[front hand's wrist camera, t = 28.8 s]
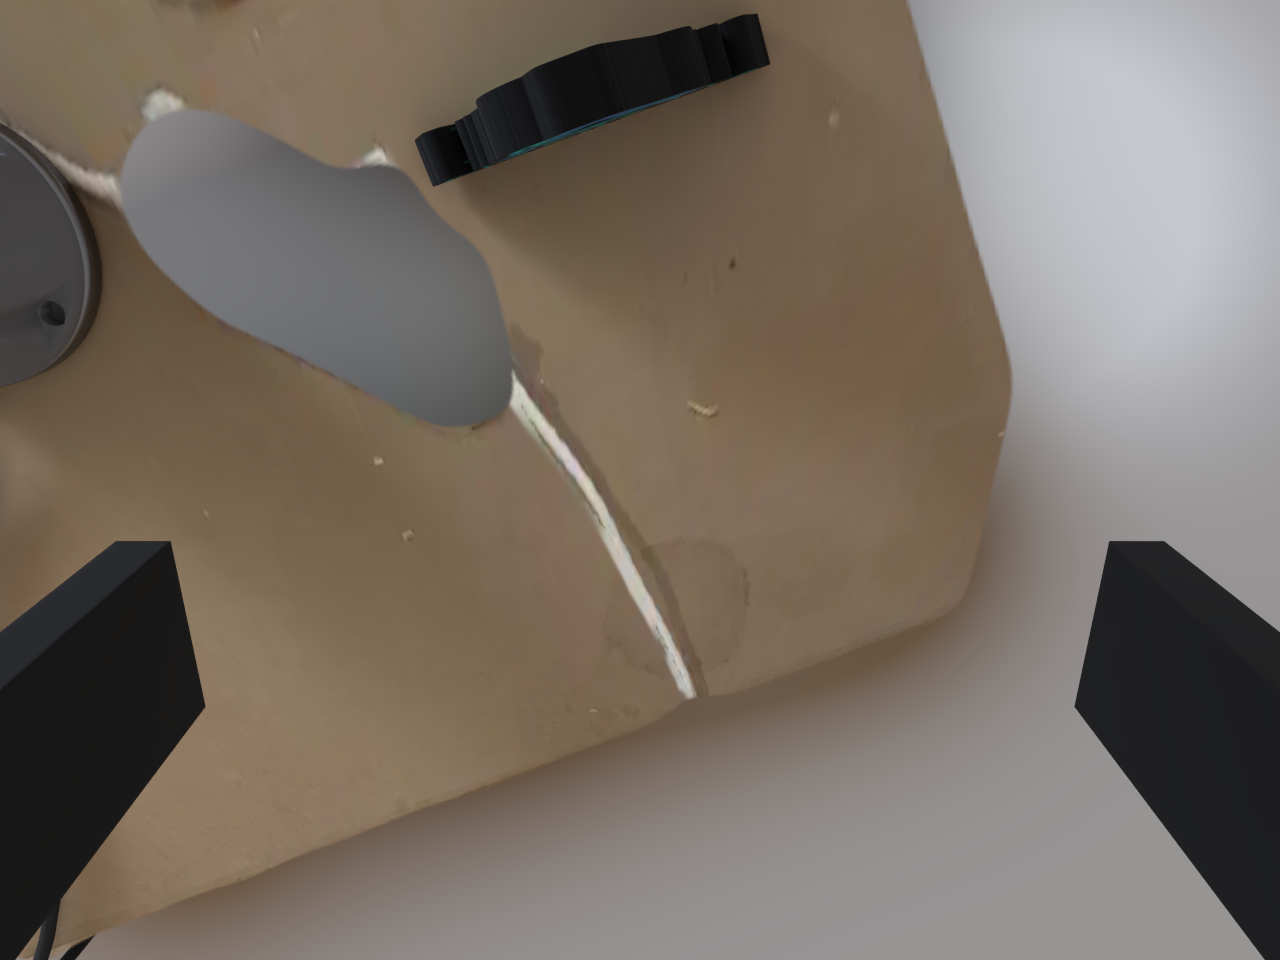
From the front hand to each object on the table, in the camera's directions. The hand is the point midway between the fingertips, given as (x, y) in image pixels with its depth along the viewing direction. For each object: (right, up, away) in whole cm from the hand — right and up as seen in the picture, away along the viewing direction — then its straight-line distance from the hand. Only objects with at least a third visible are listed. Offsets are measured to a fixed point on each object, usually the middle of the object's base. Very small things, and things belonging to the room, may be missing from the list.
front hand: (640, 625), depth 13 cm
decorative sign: (-3, +22, +35) cm, 42 cm away
